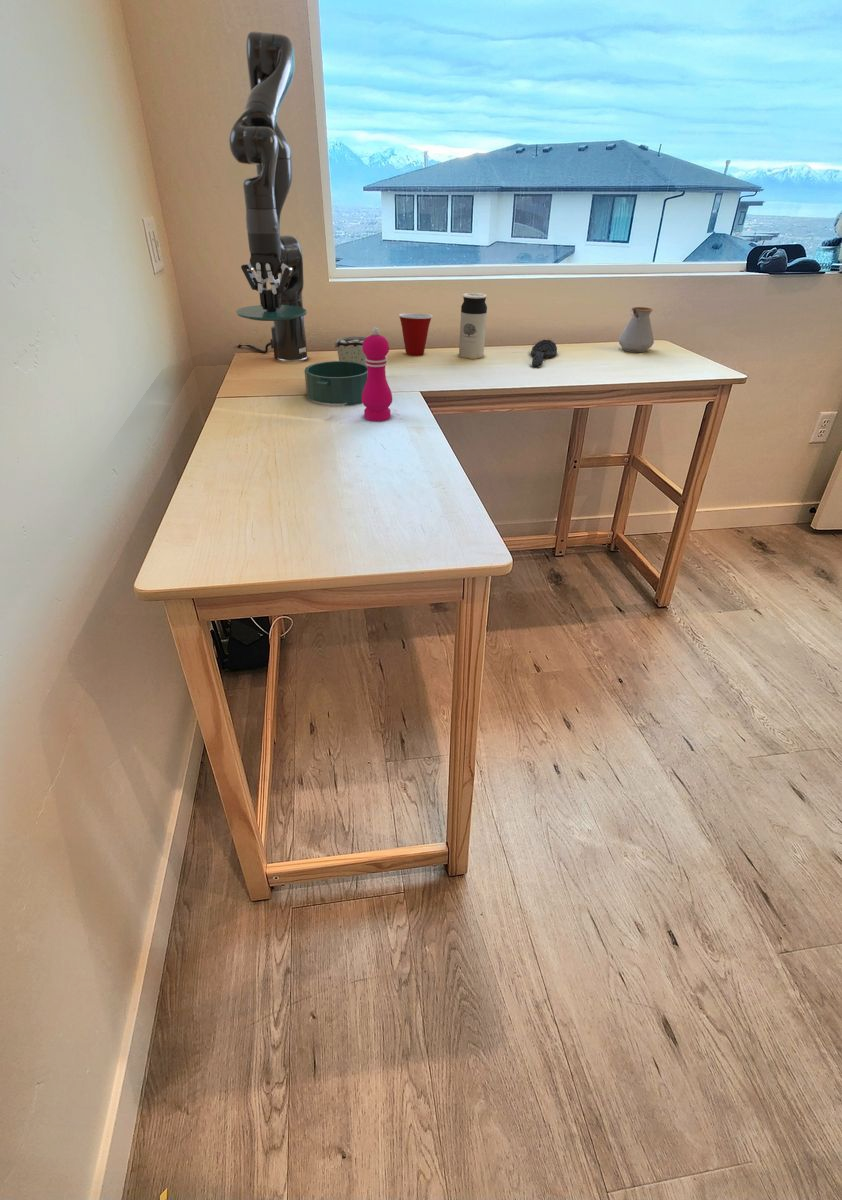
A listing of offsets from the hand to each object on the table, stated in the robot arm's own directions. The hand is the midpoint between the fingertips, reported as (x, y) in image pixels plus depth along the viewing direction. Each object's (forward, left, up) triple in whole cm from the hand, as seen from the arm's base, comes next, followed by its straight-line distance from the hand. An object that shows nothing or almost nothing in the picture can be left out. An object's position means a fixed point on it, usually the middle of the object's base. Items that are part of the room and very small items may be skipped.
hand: (271, 309), depth 157 cm
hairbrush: (+65, +55, -19) cm, 87 cm away
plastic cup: (+25, +47, -19) cm, 57 cm away
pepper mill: (+34, -17, -19) cm, 42 cm away
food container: (+17, +17, -19) cm, 31 cm away
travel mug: (+43, +50, -19) cm, 69 cm away
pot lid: (0, 0, -1) cm, 1 cm away
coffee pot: (+93, +73, -19) cm, 120 cm away
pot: (+19, -4, -19) cm, 27 cm away
